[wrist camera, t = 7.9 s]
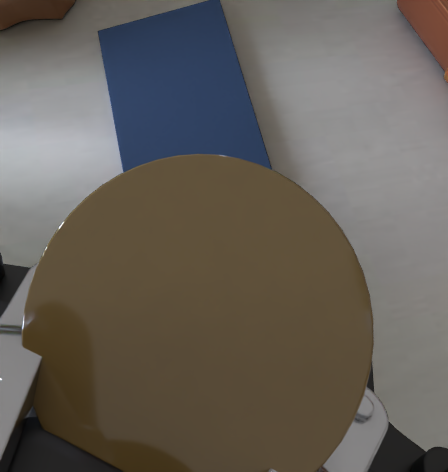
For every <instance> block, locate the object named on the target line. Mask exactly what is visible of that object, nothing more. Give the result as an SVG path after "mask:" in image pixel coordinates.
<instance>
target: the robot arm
mask: <svg viewBox="0 0 448 472" xmlns="http://www.w3.org/2000/svg"><path fill="white" fill-rule="evenodd" d="M37 265H38V263H37V264H35V265H34V266H32V267H31V268H28V267H21V266H15V265H8V264H3V260H2V256H1V253H0V472H124V471H122V470H120V469H118V468H116V467H114V466H112V465H110V464H108V463H107V462H105V461H103V460H101V459H99V458H97V457H95V456H93V455H91V454H90V453H88V452H86V451H84V450H82V449H80V448H78V447H76V446H74V445H73V444H71V443H69V442H67V441H65V440H63V439H61V438H59V437H58V436H56V435H54V434H52V433H50V432H48V431H46V430H44V429H42V427H41V425H40V423H39V420H38V418H37V416H36V413H35V411H34V409H33V403H34V398H35V393H36V388H37V382H38V377H39V372H40V367H41V362H42V356H40V355H38V354H36V353H34V352H31V351H29V350H27V349H25V348H23V346H22V339H21V333H22V323H23V313H24V307H25V303H26V298H27V294H28V289H29V286H30V283H31V281H32V278H33V275H34V272H35V269H36V267H37ZM268 472H277V471H275V470H273V469H271V468H270V470H269V471H268ZM316 472H448V449H447V448H444V447H433V448H431V449H429V450H428V451H427V452H426V451H424V450H423V449H422V448H420V447H419V446H418V445H416V444H415V443H414V442H412V441H411V440H410V439H408V438H407V437H406V436H404V435H403V434H402V433H401V432H399V431H398V430H397V429H396V428H395V427H394V426H393V425H392V424H391V423H390V422H389V421H388V415H387V412H386V409H385V407H384V405H383V404H382V402H381V401H380V399H379V398H378V397H377V396H376V395H375V393H374V383H373V368H372V363H371V370H370V374H369V378H368V382H367V386H366V390H365V394H364V397H363V399H362V402H361V404H360V407H359V409H358V412H357V414H356V417H355V419H354V421H353V423H352V424H351V426H350V428H349V430H348V431H347V433H346V435H345V437H344V438H343V440H342V442H341V443H340V444H339V446H338V447H337V448H336V450H335V451H334V452H333V453H332V455H331V456H330V457H329V459H328V460H327V461H326V462H325V464H324V465H323V466H321V467H320V468H319V469H318V470H317V471H316Z"/></svg>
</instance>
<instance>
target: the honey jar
mask: <svg viewBox="0 0 448 472" xmlns="http://www.w3.org/2000/svg"><path fill="white" fill-rule="evenodd" d="M21 339H22V346H23V348H25V349H27V350H29V351H31V352H34V353H36V354H38V355H40V356H42V362H41V367H40V372H39V377H38V382H37V388H36V393H35V398H34V403H33V409H34V411H35V413H36V416H37V418H38V420H39V423H40V425H41V427H42V429H44V430H46V431H48V432H50V433H52V434H54V435H56V436H58V437H59V438H61V439H63V440H65V441H67V442H69V443H71V444H73V445H74V446H76V447H78V448H80V449H82V450H84V451H86V452H88V453H90V454H91V455H93V456H95V457H97V458H99V459H101V460H103V461H105V462H107V463H108V464H110V465H112V466H114V467H116V468H118V469H120V470H122V471H124V472H268V471H269V470H270V468H271V469H273V470H275V471H277V472H316V471H317V470H318V469H319V468H320V467H321V466H323V465H324V464H325V462H326V461H327V460H328V459H329V457H330V456H331V455H332V453H333V452H334V451H335V450H336V448H337V447H338V446H339V444H340V443H341V442H342V440H343V438H344V437H345V435H346V433H347V431H348V430H349V428H350V426H351V424H352V423H353V421H354V419H355V417H356V414H357V412H358V409H359V407H360V404H361V402H362V399H363V397H364V394H365V390H366V386H367V382H368V378H369V374H370V370H371V363H372V354H373V346H374V334H373V314H372V307H371V300H370V294H369V291H368V287H367V283H366V280H365V276H364V273H363V270H362V268H361V265H360V263H359V261H358V258H357V256H356V254H355V251H354V249H353V247H352V246H351V244H350V242H349V241H348V239H347V237H346V236H345V234H344V232H343V230H342V229H341V228H340V226H339V225H338V224H337V223H336V221H335V220H334V219H333V217H332V216H331V215H330V213H329V212H328V211H327V210H326V209H325V208H324V207H323V206H322V205H321V204H320V203H319V202H318V201H317V200H316V199H315V198H314V197H313V196H312V195H310V194H309V193H308V192H306V191H305V190H304V189H303V188H301V187H300V186H299V185H297V184H296V183H295V182H293V181H291V180H290V179H288V178H286V177H284V176H283V175H281V174H279V173H278V172H276V171H273V170H271V169H269V168H266V167H264V166H262V165H260V164H257V163H253V162H250V161H247V160H243V159H240V158H235V157H229V156H223V155H213V154H190V155H177V156H172V157H167V158H162V159H158V160H154V161H151V162H148V163H145V164H142V165H139V166H137V167H135V168H132V169H130V170H128V171H126V172H124V173H122V174H120V175H118V176H116V177H115V178H113V179H111V180H110V181H108V182H106V183H105V184H103V185H102V186H100V187H99V188H98V189H97V190H95V191H94V192H93V193H91V194H90V195H89V196H88V197H86V198H85V199H84V200H83V201H82V202H81V203H80V204H79V205H78V206H77V207H76V208H75V209H74V210H73V211H72V212H71V213H70V214H69V215H68V217H67V218H66V219H65V220H64V222H63V223H62V224H61V225H60V227H59V228H58V229H57V231H56V232H55V234H54V235H53V237H52V238H51V240H50V242H49V243H48V245H47V246H46V248H45V250H44V252H43V254H42V256H41V258H40V260H39V262H38V265H37V267H36V269H35V272H34V275H33V278H32V281H31V283H30V286H29V289H28V294H27V298H26V303H25V307H24V313H23V323H22V333H21Z"/></svg>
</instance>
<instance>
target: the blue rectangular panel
mask: <svg viewBox="0 0 448 472" xmlns="http://www.w3.org/2000/svg"><path fill="white" fill-rule="evenodd" d="M98 35H99V40H100V46H101V51H102V57H103V62H104V68H105V73H106V79H107V84H108V90H109V95H110V101H111V106H112V112H113V117H114V123H115V128H116V134H117V140H118V145H119V151H120V156H121V162H122V167H123V173H124V172H126V171H128V170H130V169H132V168H135V167H137V166H139V165H142V164H145V163H148V162H151V161H154V160H158V159H162V158H167V157H172V156H177V155H190V154H213V155H223V156H229V157H235V158H240V159H243V160H247V161H250V162H253V163H257V164H260V165H262V166H264V167H266V168H269V169H271V170H272V168H271V165H270V162H269V158H268V155H267V152H266V149H265V146H264V142H263V139H262V136H261V133H260V129H259V126H258V123H257V120H256V116H255V113H254V110H253V107H252V103H251V100H250V97H249V94H248V91H247V87H246V84H245V81H244V78H243V74H242V71H241V68H240V65H239V61H238V58H237V55H236V52H235V48H234V45H233V42H232V39H231V36H230V32H229V29H228V26H227V23H226V19H225V16H224V13H223V10H222V6H221V3H220V0H209V1H205V2H201V3H198V4H194V5H191V6H187V7H183V8H180V9H176V10H172V11H169V12H165V13H162V14H158V15H154V16H151V17H147V18H144V19H140V20H136V21H133V22H129V23H125V24H122V25H118V26H115V27H111V28H107V29H104V30H100V31H98Z"/></svg>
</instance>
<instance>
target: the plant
mask: <svg viewBox="0 0 448 472" xmlns="http://www.w3.org/2000/svg"><path fill="white" fill-rule="evenodd" d="M75 1H76V0H0V30H3V29H6V28H8V27H10V26H12V25H14V24H16V23H19V22H21V21H25V20H32V19H62V18H63V17H64V15H65V14H66V12H67V11H68V10H69V9H70V8H71V7H72V6H73V4H74V3H75Z"/></svg>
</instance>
